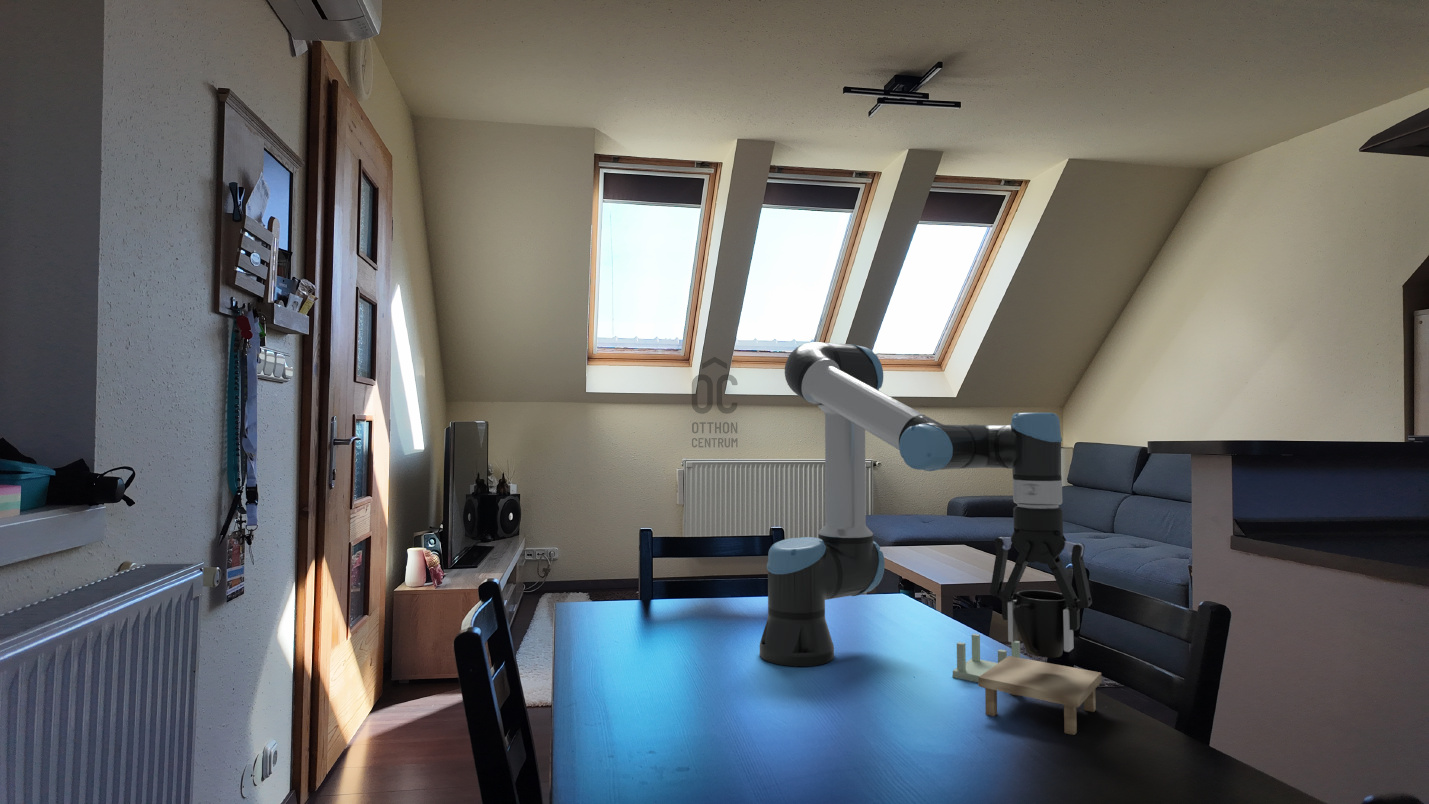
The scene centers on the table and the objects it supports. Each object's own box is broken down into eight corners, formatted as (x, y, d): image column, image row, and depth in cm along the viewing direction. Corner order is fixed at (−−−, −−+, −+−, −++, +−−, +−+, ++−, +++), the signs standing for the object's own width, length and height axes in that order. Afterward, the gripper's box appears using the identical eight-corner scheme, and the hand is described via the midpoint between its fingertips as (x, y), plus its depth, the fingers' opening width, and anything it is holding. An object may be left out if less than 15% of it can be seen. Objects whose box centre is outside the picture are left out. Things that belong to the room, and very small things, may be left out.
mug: (993, 655, 125) (992, 596, 125) (1034, 643, 132) (1033, 587, 132) (1039, 667, 118) (1039, 606, 118) (1080, 654, 125) (1079, 596, 125)
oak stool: (978, 714, 123) (978, 677, 123) (1009, 689, 135) (1008, 655, 135) (1078, 738, 114) (1077, 697, 114) (1102, 709, 125) (1101, 672, 126)
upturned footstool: (952, 677, 142) (952, 643, 142) (972, 664, 150) (971, 632, 150) (1007, 688, 136) (1006, 653, 136) (1024, 674, 143) (1024, 641, 144)
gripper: (967, 503, 129) (969, 639, 128) (1101, 511, 116) (1105, 662, 115) (982, 500, 135) (984, 630, 134) (1112, 507, 122) (1115, 651, 121)
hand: (1040, 644), depth 125 cm, fingers closed on mug, 8 cm apart
